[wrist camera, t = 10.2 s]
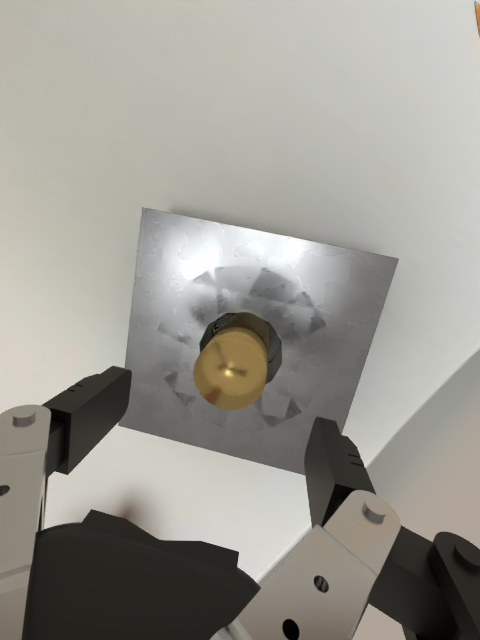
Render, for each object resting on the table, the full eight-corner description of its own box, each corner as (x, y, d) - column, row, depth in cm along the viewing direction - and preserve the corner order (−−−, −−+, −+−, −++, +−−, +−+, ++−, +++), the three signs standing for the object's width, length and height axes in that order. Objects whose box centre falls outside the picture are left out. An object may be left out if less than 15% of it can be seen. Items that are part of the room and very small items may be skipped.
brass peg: (226, 307, 23) (199, 333, 15) (275, 318, 23) (273, 350, 15) (217, 353, 24) (188, 400, 16) (264, 364, 24) (257, 417, 16)
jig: (166, 215, 22) (142, 207, 18) (376, 258, 21) (398, 258, 17) (142, 400, 26) (118, 425, 22) (318, 445, 25) (326, 480, 21)
